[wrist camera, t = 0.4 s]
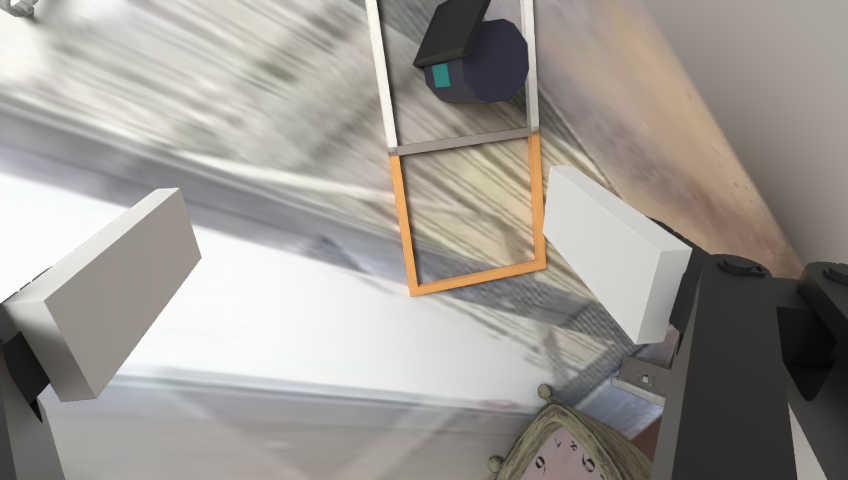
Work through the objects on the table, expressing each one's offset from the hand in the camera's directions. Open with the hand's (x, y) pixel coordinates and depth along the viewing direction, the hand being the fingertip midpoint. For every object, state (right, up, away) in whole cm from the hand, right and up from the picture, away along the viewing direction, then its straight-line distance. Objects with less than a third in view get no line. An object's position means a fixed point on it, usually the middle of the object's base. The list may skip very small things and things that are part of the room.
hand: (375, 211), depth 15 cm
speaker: (+5, +15, +22) cm, 27 cm away
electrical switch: (+29, -16, +36) cm, 49 cm away
